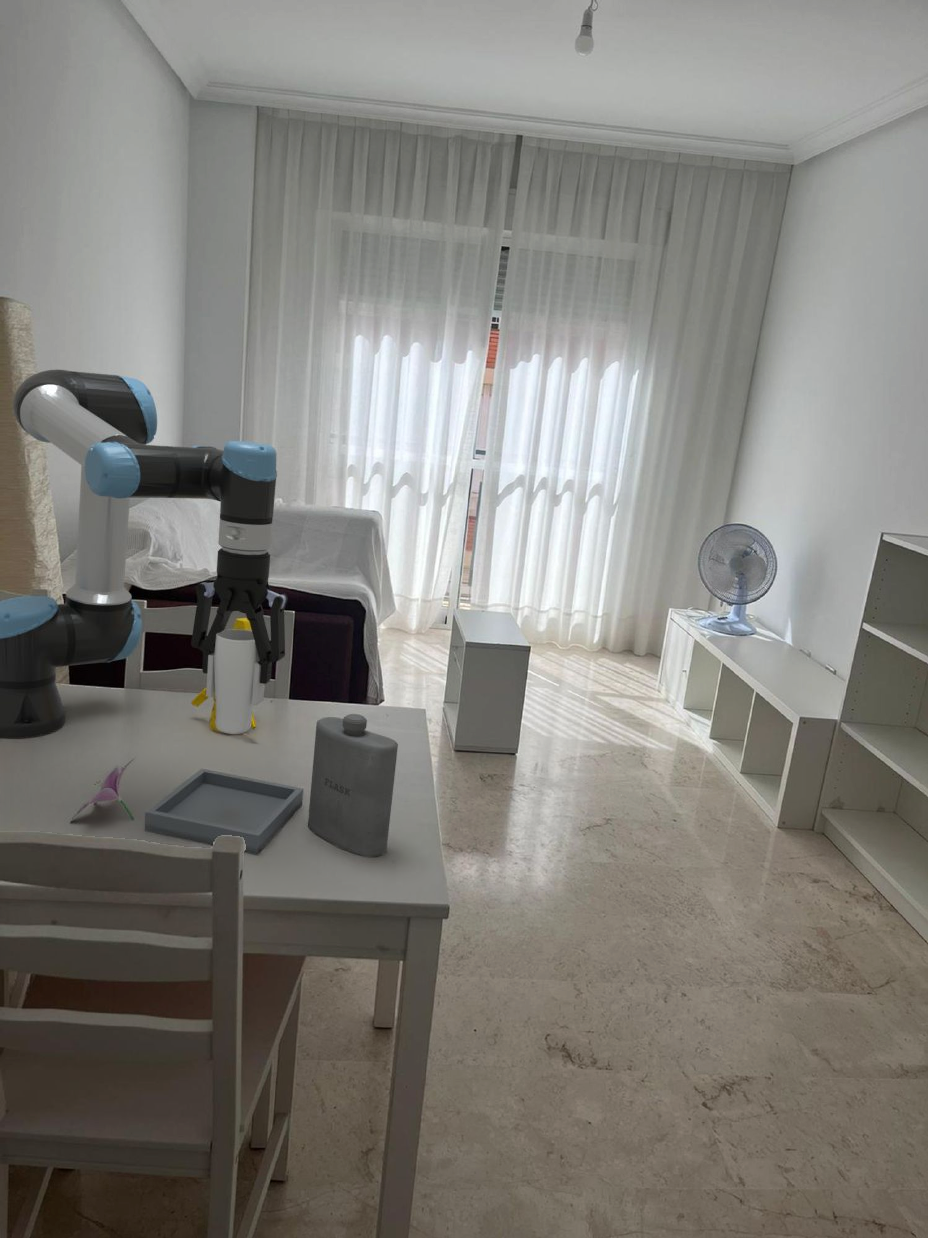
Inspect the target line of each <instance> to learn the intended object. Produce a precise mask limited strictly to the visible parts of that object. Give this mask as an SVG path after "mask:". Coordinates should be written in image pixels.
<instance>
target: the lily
mask: <svg viewBox="0 0 928 1238" xmlns="http://www.w3.org/2000/svg"><path fill="white" fill-rule="evenodd" d="M136 758H137V756H135V757H134V758H132V759H131V760H130V761H128V763H127V764H126V765H125V766H123V767H121V768H120V769H119V766H118V765H116V766H115V768H114V769H112V770H111V772H109V774H108V775H107V776H106V777H105V778H104V779H103V781H100V780H98V781H96V783H94V784H93V785H95V786H98V787H100V789H99V790H100V791H98V792H97V793H96V794H95V796H94V797H92V799H91V800H90V801H88V802H87V803H85V804H84V805H83V806H81V808H79V809H78V811H77V812H76V813H75V814H74V816H73V817H72V818H71V820H70V821H69V823H71V822H72V821H74V819H75V818H76V817H77V815H79V814H80V813H81V811H83V810H84V809H85V808H86V807H87V806H89V805H90V804H93V806H97V804H98V803H103V802H109V801H116V800H117V801H119V803H120V804H121V805H122V806H123V808H125V810H126V812H127V813H128V815H129V817H130V818H131V821H134V820H135V818H134V816H133V815H132V813H131V812H130V809H129V808H128V807H127V806H126V804H125V802H124V801H123V800H122V798H121V797H120V782H121V779H122V776H123V774H124V772H125V770H127V767H129V765H130V764H131V763H132V762H133V761H134V760H135V759H136Z"/></svg>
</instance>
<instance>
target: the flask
mask: <svg viewBox="0 0 928 1238" xmlns="http://www.w3.org/2000/svg"><path fill="white" fill-rule="evenodd" d="M367 723H368V720H367V718H366V717H364V715H362V714H356V713H351V714H346V715H345V716H343V718H340V717H336V716H328V717H327V716H326V717H322V718H320V719H318V720H317V721H316V724H315V725H316V727H315V737H314V739H315V740H314V750H313V760H312V772H311V781H310V794H309V796H310V797H309V806H308V819H307V824H308V825H307V826H308V828H309V829H310V830H311V831H312V832H313V833H315V834H316V835H317V836H319V837H321V839H323V840H325V841H326V842H329V844H332V845H334V846H336V847H338V848H341V849H343V850H345V851H348V852H350V853H352V854H356V855H359V856H362V857H368V858H373V857H380V856H382V855H384V854H385V853H386V852H387V849H388V841H389V831H390V822H391V812H392V803H393V794H394V784H395V775H396V765H397V758H398V749H399V747H398V746H399V743H397V741H396V740H394V739H392V738H390V737H387V736H385V735H380V734H379V733H378V734H377V733H374V732H372V731H369V730H366V729H367V726H368V725H367Z"/></svg>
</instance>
